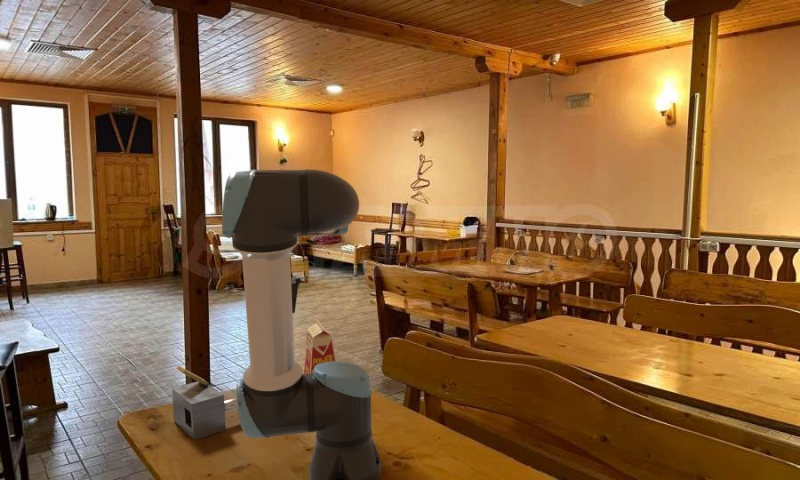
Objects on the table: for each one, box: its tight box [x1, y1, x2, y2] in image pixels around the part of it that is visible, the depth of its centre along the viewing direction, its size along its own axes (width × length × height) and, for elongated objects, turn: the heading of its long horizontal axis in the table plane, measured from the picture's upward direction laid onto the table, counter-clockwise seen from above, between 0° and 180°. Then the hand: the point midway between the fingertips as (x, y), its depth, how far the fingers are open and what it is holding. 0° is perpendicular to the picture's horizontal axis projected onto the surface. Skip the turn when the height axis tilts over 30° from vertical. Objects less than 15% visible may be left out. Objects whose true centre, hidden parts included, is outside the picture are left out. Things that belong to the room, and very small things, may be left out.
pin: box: [224, 397, 238, 414], centre depth 144 cm, size 5×16×5 cm, turn 131°
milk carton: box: [303, 318, 337, 374], centre depth 166 cm, size 9×9×20 cm
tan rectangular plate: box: [176, 365, 210, 386], centre depth 143 cm, size 5×8×1 cm
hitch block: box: [171, 381, 227, 441], centre depth 140 cm, size 14×8×9 cm, turn 41°
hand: (280, 340), depth 150 cm, fingers closed
